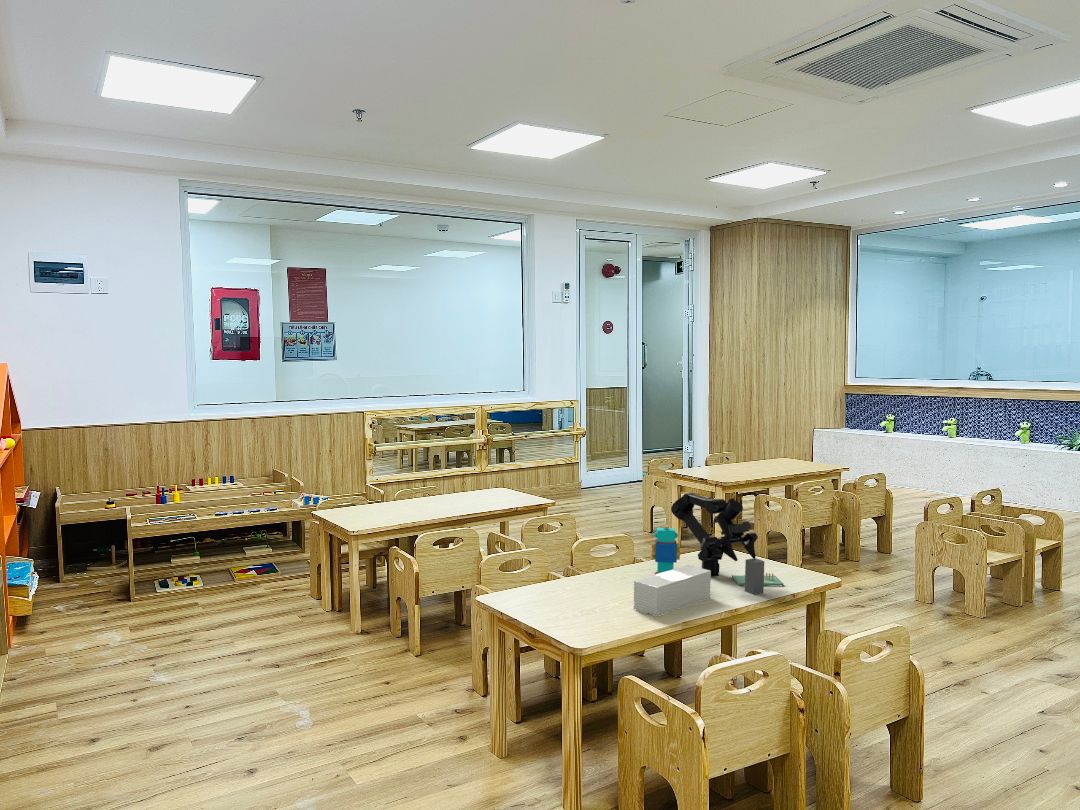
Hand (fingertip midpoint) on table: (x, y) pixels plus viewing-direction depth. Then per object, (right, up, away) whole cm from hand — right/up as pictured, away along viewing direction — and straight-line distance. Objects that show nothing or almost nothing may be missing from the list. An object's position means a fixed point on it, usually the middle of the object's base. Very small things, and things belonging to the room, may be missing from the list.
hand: (745, 559), depth 310 cm
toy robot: (-30, -11, +12) cm, 34 cm away
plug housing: (+2, -12, -4) cm, 13 cm away
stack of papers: (-32, -13, -18) cm, 39 cm away
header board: (+7, -11, +10) cm, 16 cm away
